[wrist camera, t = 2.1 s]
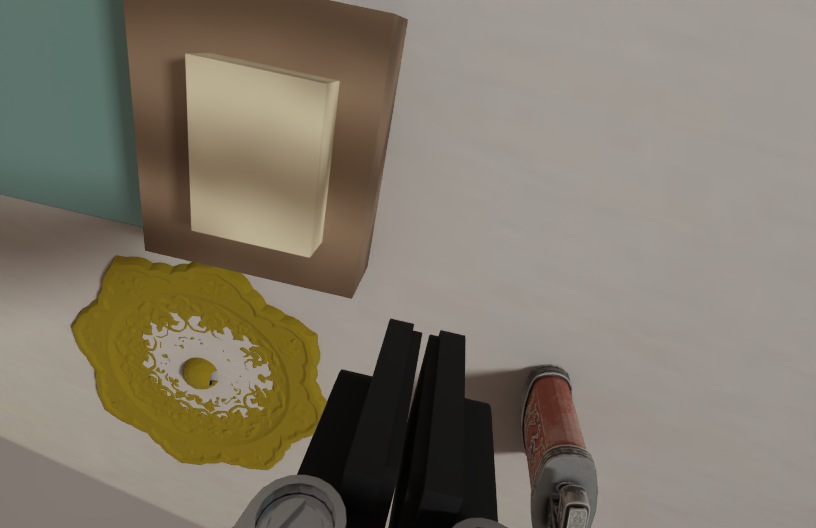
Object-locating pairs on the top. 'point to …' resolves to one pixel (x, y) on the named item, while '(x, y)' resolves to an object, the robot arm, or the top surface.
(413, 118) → the top surface
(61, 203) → the mat
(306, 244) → the tile
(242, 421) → the decorative medallion
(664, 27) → the top surface
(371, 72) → the brown flat block
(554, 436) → the lighter
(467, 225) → the top surface
